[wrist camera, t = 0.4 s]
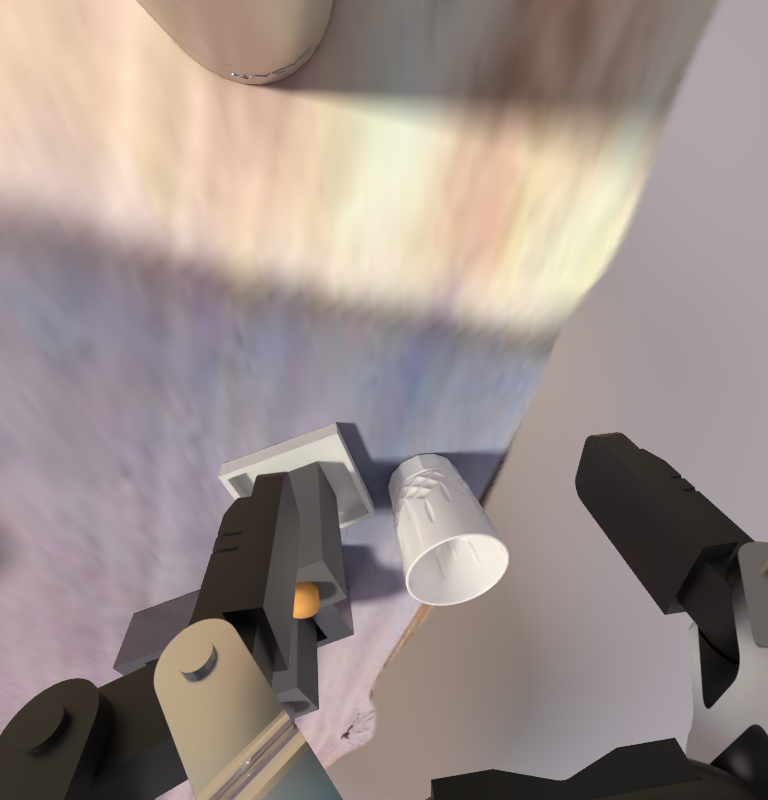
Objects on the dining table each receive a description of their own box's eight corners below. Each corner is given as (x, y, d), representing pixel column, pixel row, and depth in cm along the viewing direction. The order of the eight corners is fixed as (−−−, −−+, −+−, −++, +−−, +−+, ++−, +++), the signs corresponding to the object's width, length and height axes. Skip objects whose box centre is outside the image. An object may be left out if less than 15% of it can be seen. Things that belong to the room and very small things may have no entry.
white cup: (424, 521, 40) (457, 615, 31) (364, 492, 36) (384, 589, 28) (478, 470, 38) (529, 556, 29) (420, 433, 34) (459, 519, 26)
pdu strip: (133, 613, 39) (111, 671, 34) (321, 545, 39) (323, 593, 34) (179, 650, 43) (164, 706, 38) (348, 588, 43) (354, 637, 38)
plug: (267, 479, 33) (253, 602, 23) (317, 460, 33) (323, 576, 23) (290, 513, 35) (285, 638, 26) (336, 496, 35) (348, 614, 26)
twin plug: (255, 590, 39) (240, 725, 29) (298, 574, 39) (296, 705, 29) (275, 613, 41) (267, 745, 32) (315, 598, 41) (319, 726, 32)
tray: (221, 464, 32) (218, 477, 31) (335, 422, 32) (337, 433, 30) (275, 538, 37) (274, 552, 36) (373, 502, 37) (376, 515, 36)
